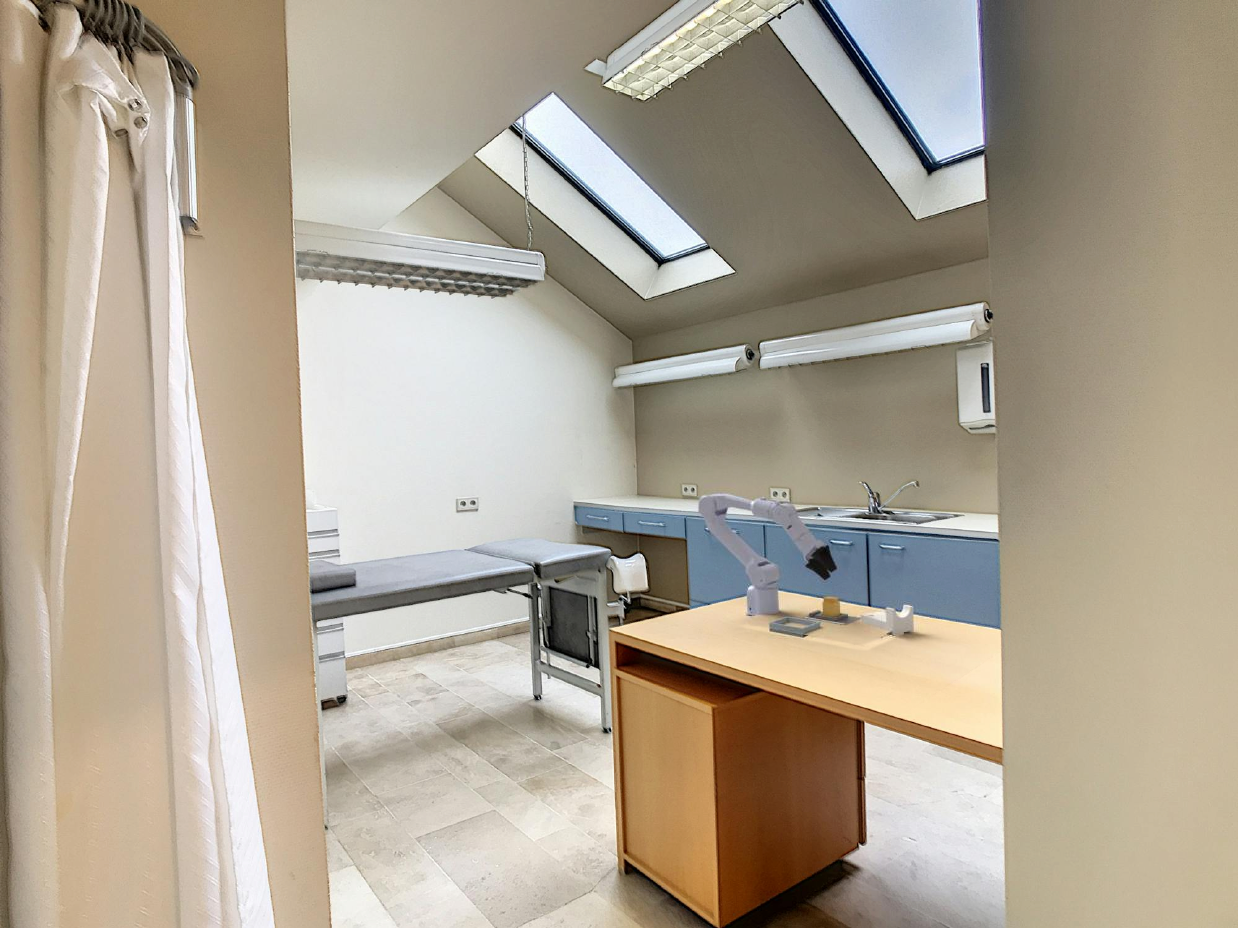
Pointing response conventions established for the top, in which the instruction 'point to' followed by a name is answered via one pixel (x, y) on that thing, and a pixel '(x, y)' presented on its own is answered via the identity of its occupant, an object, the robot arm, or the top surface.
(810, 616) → the grey socket base
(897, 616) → the bracket
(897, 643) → the top surface
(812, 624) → the parts tray
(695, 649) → the top surface
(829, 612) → the block
